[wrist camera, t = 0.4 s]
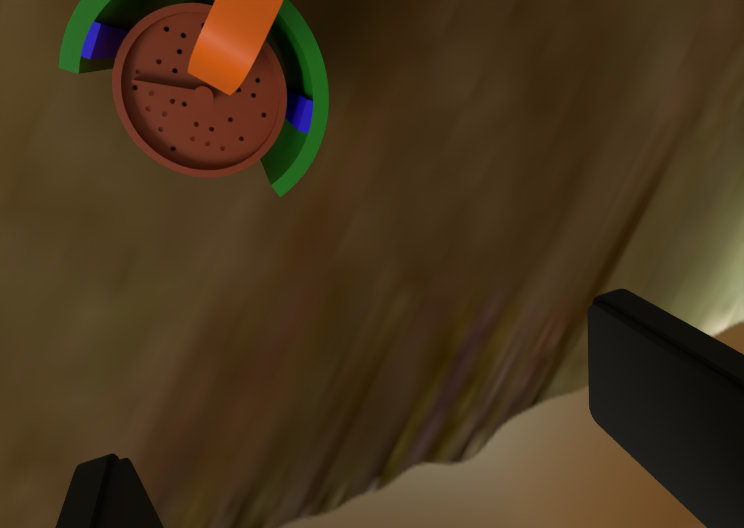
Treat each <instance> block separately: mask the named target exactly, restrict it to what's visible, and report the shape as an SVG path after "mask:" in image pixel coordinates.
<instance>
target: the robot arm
mask: <svg viewBox="0 0 744 528" xmlns="http://www.w3.org/2000/svg"><path fill="white" fill-rule="evenodd" d="M588 370H589V409H590V412H591V414H592V417H593V418H594V420H595V421H596V423H597V424H598V425H599V426H600V427H601V428H602V429H604V430H605V431H606V432H607V433H608V434H609V435H610V436H611V437H612V438H613V439H614V440H615V441H616V442H617V443H618V444H619V445H620V446H621V447H623V449H625V450H626V451H627V452H628V453H629V454H630V455H631V456H632V457H633V458H634V459H635V460H636V461H638V463H639V464H641V466H642V467H644V468H645V469H646V470H647V471H648V472H649V473H650V474H651V475H652V476H653V477H654V478H655V479H656V480H657V481H658V482H659V483H660V484H662V485H663V486H664V487H665V488H666V489H667V490H668V491H669V492H670V493H671V494H672V495H673V496H674V497H675V498H676V499H677V500H678V501H680V502H681V503H682V504H683V505H684V506H685V507H686V508H687V509H688V510H689V511H690V512H691V513H692V514H693V515H694V516H695V517H696V518H697V519H699V520H700V521H701V522H702V523H703V524H704V525H705V526H706V527H707V528H744V355H743V354H742V353H740V352H738V351H736V350H734V349H733V348H731V347H729V346H727V345H725V344H724V343H722V342H720V341H718V340H716V339H715V338H713V337H711V336H709V335H707V334H706V333H704V332H702V331H700V330H698V329H697V328H695V327H693V326H691V325H689V324H688V323H686V322H684V321H682V320H680V319H679V318H677V317H675V316H673V315H671V314H670V313H668V312H666V311H664V310H662V309H661V308H659V307H657V306H655V305H653V304H652V303H650V302H648V301H646V300H644V299H643V298H641V297H639V296H637V295H635V294H634V293H632V292H630V291H628V290H626V289H617V290H614V291H611V292H608V293H605V294H602V295H599V296H597V297H595V298H594V300H593V304H592V305H591V306H590V307H589V308H588ZM56 528H164V527H163V525H162V523H161V521H160V519H159V517H158V515H157V513H156V511H155V509H154V507H153V505H152V503H151V501H150V499H149V497H148V495H147V493H146V491H145V489H144V487H143V485H142V483H141V480H140V478H139V476H138V474H137V472H136V470H135V468H134V466H133V464H132V462H131V461H130V460H129V459H128V458H123V459H119V458H118V456H116V455H115V454H109V455H106V456H103V457H100V458H97V459H94V460H90V461H87V462H84V463H81V464H79V465H78V466H77V467H76V469H75V472H74V475H73V478H72V481H71V484H70V486H69V489H68V492H67V495H66V498H65V501H64V504H63V507H62V510H61V513H60V516H59V519H58V522H57V525H56Z"/></svg>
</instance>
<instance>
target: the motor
mask: <svg viewBox="0 0 744 528" xmlns="http://www.w3.org/2000/svg"><path fill="white" fill-rule="evenodd" d="M59 68H61V69H64V70H68V71H71V72H75V73H78V74H80V73H86V72H93V71H99V70H105V69H112V68H113V75H112V88H113V96H114V101H115V105H116V109H117V112H118V115H119V117H120V119H121V121H122V123H123V125H124V127H125V129H126V130H127V132H128V134H129V135H130V137H131V138H132V139H133V140H134V142H135V143H136V144H137V145H138V146H139V147H140V148H141V149H142V150H143V151H144V152H145V153H146V154H147V155H148V156H150V157H151V158H152V159H154V160H155V161H157V162H158V163H160V164H161V165H163V166H165V167H167V168H169V169H171V170H174V171H176V172H179V173H182V174H186V175H190V176H196V177H221V176H226V175H230V174H234V173H237V172H239V171H242V170H244V169H246V168H247V167H249V166H251V165H252V164H254V163H255V162H257V161H258V160H259V159H261V162H262V164H263V167H264V169H265V172H266V174H267V177H268V179H269V181H270V184H271V186H272V187H273V188H274V190H275V191H276V192H277V194H278V195H279V196H280V197H281V196H282V195H284V194H285V193H286V192H287V191H288V190H290V189H291V188H292V187H293V186H294V185H295V184H296V183H297V182H298V181H299V179H300V178H301V177H302V176H303V175H304V173H305V172H306V171H307V169H308V168H309V166H310V164H311V163H312V161H313V159H314V158H315V156H316V154H317V151H318V149H319V147H320V144H321V142H322V139H323V135H324V132H325V128H326V123H327V117H328V107H329V91H328V81H327V75H326V69H325V65H324V61H323V58H322V55H321V52H320V49H319V47H318V44H317V42H316V40H315V38H314V36H313V34H312V32H311V30H310V28H309V26H308V25H307V23H306V22H305V20H304V18H303V17H302V16H301V14H300V13H299V11H298V10H297V9H296V8H295V6H294V5H293V4H292V3H291V2H290V1H289V0H81V1H80V2H79V4H78V6H77V7H76V9H75V11H74V12H73V14H72V16H71V18H70V20H69V23H68V25H67V28H66V31H65V34H64V37H63V41H62V45H61V51H60V57H59Z"/></svg>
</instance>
